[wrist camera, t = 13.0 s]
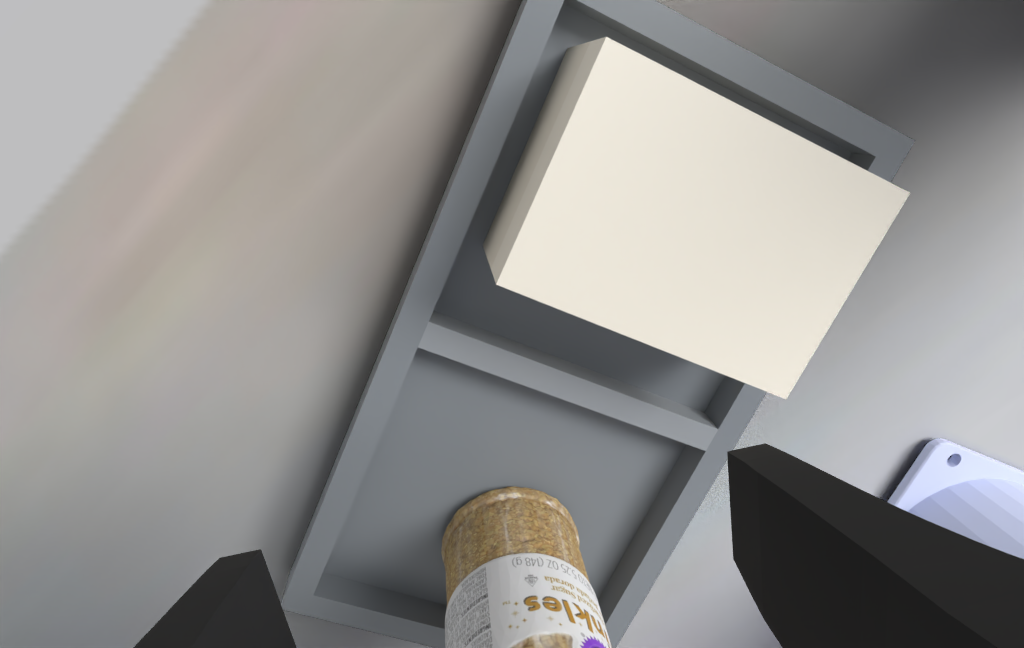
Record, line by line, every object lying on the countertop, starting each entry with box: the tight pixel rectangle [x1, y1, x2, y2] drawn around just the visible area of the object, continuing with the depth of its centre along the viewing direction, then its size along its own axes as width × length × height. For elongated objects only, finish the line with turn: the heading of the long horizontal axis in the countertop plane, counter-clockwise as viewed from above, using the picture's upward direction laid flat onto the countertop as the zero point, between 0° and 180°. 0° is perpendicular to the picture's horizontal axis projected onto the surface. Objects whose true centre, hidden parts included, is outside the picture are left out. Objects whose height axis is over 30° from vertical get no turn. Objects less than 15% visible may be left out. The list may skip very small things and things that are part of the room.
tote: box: [281, 0, 915, 648], centre depth 20 cm, size 11×20×2 cm, turn 156°
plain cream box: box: [483, 37, 910, 399], centre depth 17 cm, size 8×6×4 cm
